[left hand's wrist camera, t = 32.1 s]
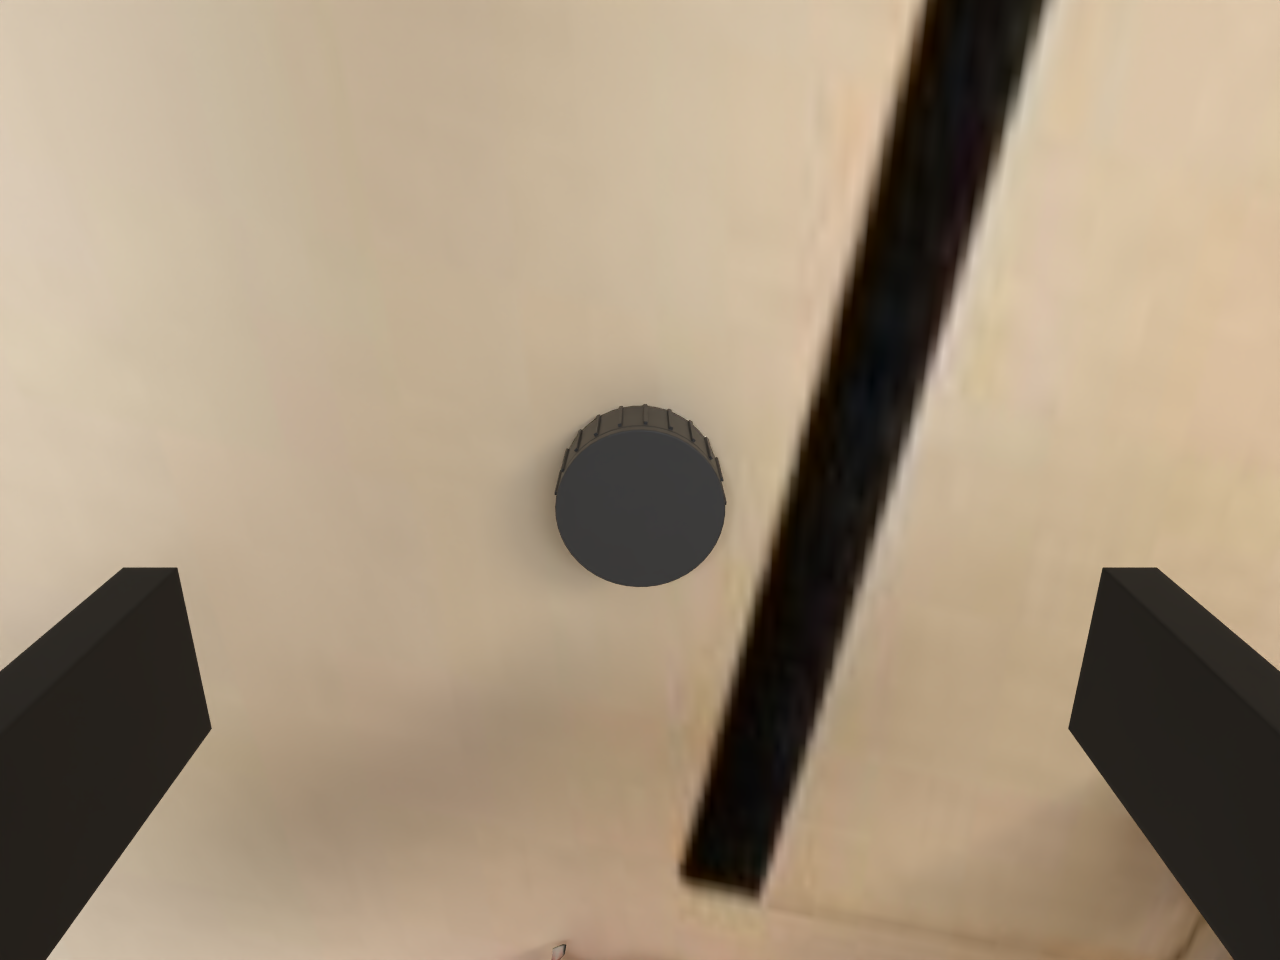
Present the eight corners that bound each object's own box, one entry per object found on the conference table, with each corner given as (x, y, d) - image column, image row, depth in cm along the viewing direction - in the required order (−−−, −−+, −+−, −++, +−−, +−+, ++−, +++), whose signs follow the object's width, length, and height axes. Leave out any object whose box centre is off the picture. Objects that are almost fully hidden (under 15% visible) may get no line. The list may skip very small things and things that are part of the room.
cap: (660, 370, 20) (663, 392, 18) (751, 498, 21) (761, 531, 20) (528, 461, 21) (517, 490, 19) (622, 580, 22) (620, 619, 20)
